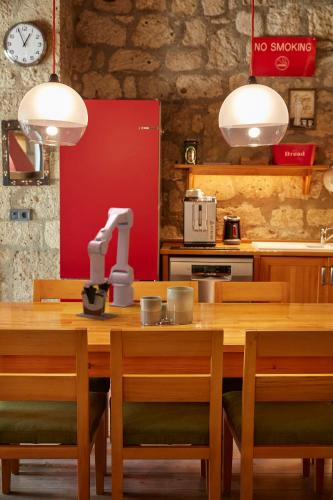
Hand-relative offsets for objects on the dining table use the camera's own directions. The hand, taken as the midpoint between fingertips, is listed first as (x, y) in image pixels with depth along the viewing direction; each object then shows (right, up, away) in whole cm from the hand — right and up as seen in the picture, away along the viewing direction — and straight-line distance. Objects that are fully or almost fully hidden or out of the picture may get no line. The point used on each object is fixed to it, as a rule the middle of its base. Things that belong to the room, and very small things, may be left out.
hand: (97, 302), depth 228 cm
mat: (0, -6, +1) cm, 6 cm away
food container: (0, -5, +1) cm, 5 cm away
